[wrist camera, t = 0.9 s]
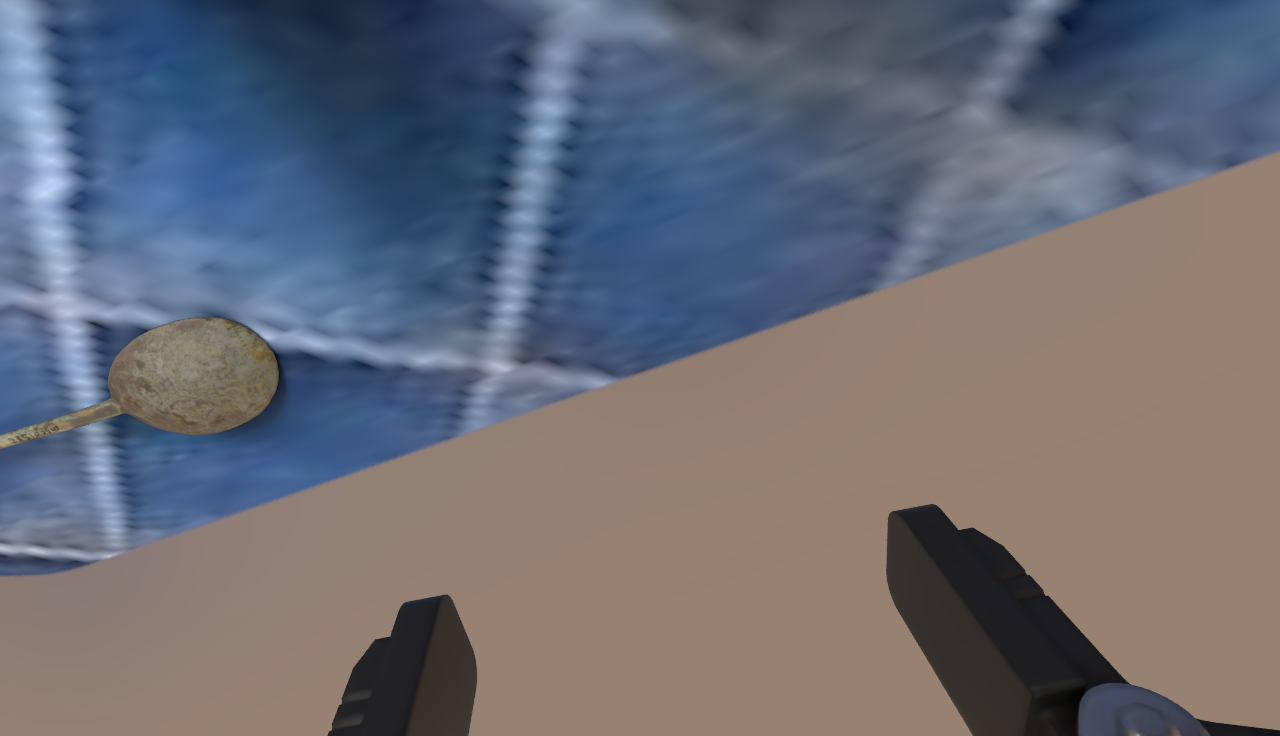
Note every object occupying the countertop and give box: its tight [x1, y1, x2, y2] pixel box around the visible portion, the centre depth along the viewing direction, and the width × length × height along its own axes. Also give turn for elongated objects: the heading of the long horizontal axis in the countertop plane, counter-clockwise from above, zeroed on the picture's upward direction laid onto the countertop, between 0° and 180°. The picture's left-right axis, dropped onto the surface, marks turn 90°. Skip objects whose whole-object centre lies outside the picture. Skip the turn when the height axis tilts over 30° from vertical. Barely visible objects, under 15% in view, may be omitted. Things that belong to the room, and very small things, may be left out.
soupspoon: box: [0, 317, 279, 449], centre depth 32 cm, size 22×3×7 cm
